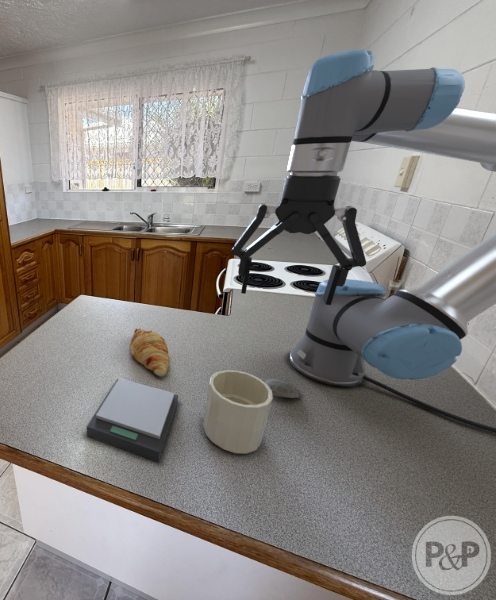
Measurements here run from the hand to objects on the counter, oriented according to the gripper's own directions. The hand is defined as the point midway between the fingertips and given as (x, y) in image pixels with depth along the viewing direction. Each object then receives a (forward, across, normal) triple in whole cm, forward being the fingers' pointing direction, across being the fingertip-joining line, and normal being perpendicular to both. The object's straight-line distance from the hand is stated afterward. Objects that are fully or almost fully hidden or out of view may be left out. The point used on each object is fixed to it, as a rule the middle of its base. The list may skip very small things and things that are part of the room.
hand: (283, 296), depth 58 cm
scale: (+25, -23, -16) cm, 37 cm away
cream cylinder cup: (+25, -5, -12) cm, 28 cm away
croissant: (+25, -27, +7) cm, 37 cm away
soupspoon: (+25, -1, 0) cm, 25 cm away
